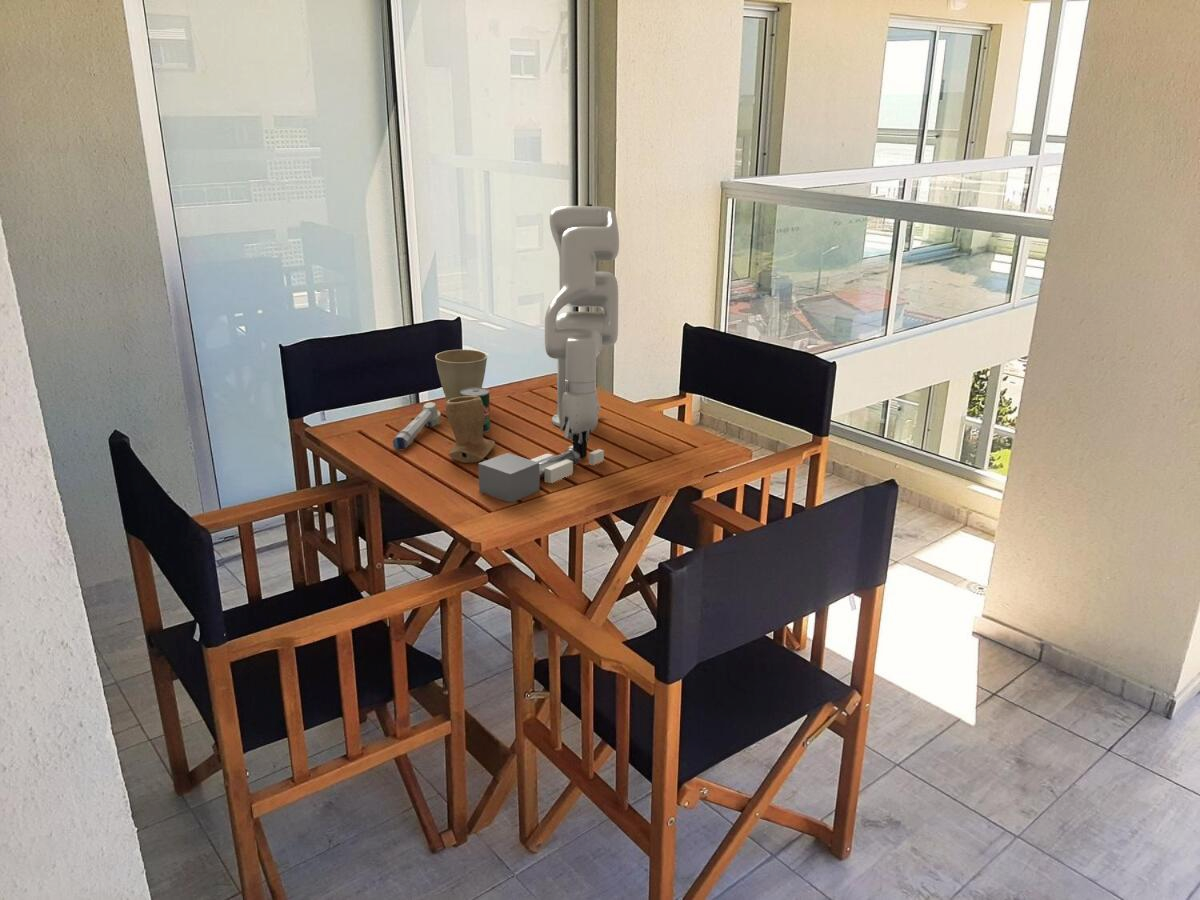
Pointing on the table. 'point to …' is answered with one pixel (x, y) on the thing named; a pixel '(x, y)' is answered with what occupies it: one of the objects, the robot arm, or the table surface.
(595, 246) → the robot arm
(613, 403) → the table surface
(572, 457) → the slip tube
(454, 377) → the plant pot
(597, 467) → the table surface
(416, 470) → the table surface
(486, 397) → the canned tomato
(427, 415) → the white handheld tool
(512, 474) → the socket block
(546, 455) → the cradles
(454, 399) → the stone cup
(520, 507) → the table surface
